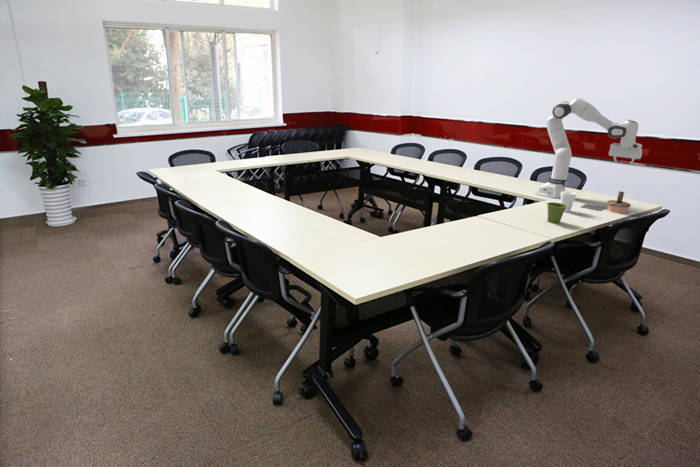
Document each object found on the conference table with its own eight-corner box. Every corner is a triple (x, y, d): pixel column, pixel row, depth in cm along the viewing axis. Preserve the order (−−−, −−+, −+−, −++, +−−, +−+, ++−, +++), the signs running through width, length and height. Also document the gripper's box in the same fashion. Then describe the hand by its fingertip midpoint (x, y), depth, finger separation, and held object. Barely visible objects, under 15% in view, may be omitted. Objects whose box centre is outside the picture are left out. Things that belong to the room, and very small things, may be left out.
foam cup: (574, 213, 303) (577, 194, 299) (559, 212, 305) (563, 193, 301) (570, 209, 312) (573, 191, 308) (556, 208, 314) (559, 190, 310)
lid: (604, 204, 310) (607, 191, 307) (610, 200, 319) (613, 188, 316) (627, 208, 301) (630, 195, 298) (632, 204, 310) (635, 192, 307)
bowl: (605, 211, 312) (606, 204, 310) (610, 208, 320) (611, 201, 318) (624, 214, 304) (625, 207, 302) (629, 211, 312) (630, 204, 310)
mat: (579, 207, 318) (579, 207, 318) (586, 204, 328) (586, 203, 328) (600, 211, 309) (600, 211, 309) (606, 208, 319) (606, 207, 318)
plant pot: (549, 224, 277) (552, 207, 273) (540, 219, 288) (543, 202, 284) (567, 224, 278) (571, 207, 274) (557, 219, 289) (560, 202, 285)
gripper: (609, 142, 317) (605, 162, 322) (642, 146, 304) (637, 166, 308) (612, 142, 322) (608, 161, 326) (644, 145, 308) (639, 165, 312)
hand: (622, 163), depth 317 cm, fingers open, 8 cm apart
